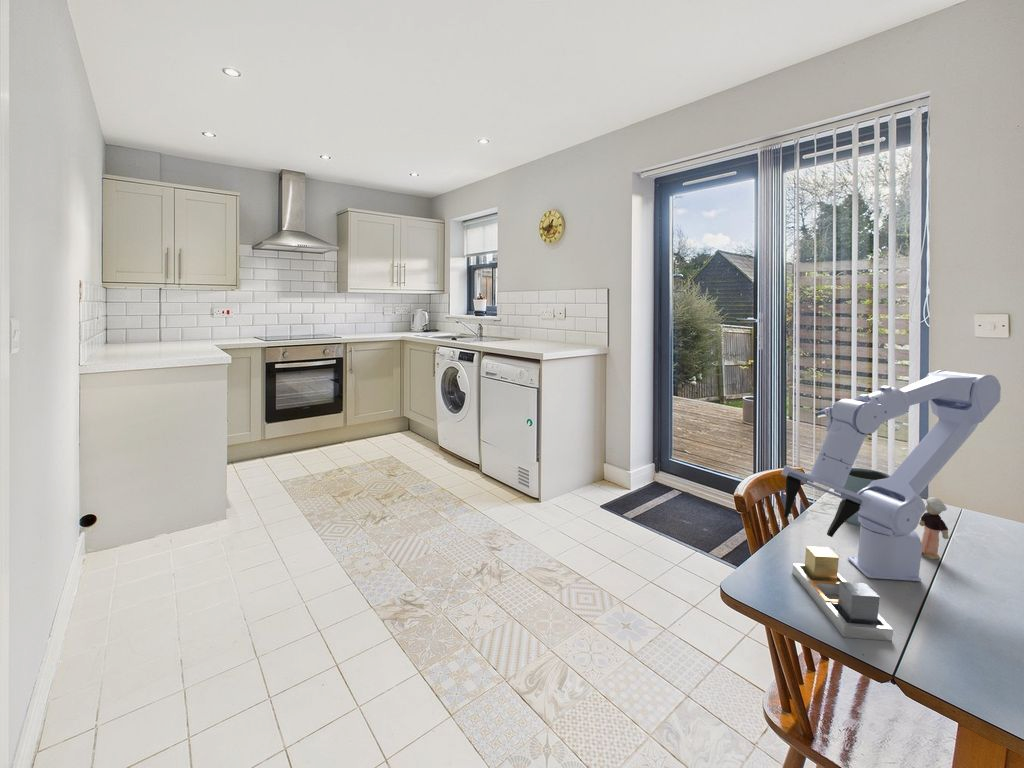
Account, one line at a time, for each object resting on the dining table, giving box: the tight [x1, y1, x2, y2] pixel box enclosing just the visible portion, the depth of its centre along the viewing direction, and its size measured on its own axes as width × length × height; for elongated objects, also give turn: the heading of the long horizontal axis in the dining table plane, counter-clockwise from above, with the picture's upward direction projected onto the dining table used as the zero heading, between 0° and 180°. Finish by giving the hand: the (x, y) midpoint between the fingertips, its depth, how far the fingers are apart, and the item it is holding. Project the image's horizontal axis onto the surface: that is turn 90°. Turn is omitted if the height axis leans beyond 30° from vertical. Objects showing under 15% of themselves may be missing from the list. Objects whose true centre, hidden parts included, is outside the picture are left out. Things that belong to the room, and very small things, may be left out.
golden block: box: [804, 545, 840, 582], centre depth 94 cm, size 4×4×6 cm
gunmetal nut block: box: [837, 581, 881, 625], centre depth 81 cm, size 4×4×6 cm
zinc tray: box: [791, 562, 894, 642], centre depth 88 cm, size 7×20×2 cm, turn 172°
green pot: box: [841, 467, 891, 527], centre depth 122 cm, size 10×10×12 cm
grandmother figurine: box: [918, 496, 950, 560], centre depth 104 cm, size 8×4×13 cm, turn 5°
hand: (806, 525), depth 94 cm, fingers open, 7 cm apart
